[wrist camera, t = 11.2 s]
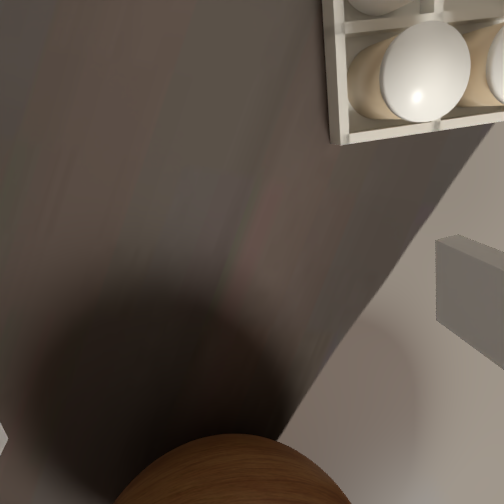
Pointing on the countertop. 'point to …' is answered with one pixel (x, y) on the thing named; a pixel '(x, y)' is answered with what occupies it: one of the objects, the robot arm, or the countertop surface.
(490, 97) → the paper cup
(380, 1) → the can
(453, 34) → the paper cup
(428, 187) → the countertop surface
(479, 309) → the robot arm
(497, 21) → the carrier
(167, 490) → the bowl
